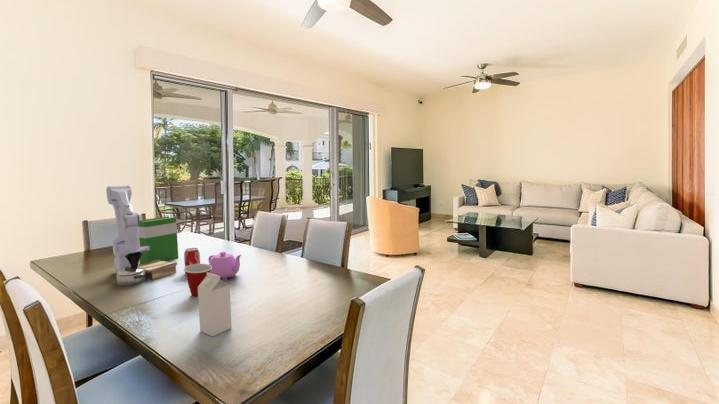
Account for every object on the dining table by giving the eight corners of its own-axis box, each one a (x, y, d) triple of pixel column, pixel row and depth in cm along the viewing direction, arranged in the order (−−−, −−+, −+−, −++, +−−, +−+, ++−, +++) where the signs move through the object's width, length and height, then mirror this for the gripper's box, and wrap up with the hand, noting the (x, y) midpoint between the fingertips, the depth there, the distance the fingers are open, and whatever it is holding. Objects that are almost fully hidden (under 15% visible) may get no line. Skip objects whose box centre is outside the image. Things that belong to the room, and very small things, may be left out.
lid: (111, 273, 160) (111, 269, 160) (135, 267, 169) (134, 263, 169) (126, 276, 155) (126, 272, 155) (149, 270, 165) (149, 266, 165)
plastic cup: (201, 300, 140) (199, 271, 139) (179, 298, 143) (177, 269, 142) (219, 291, 151) (217, 264, 149) (198, 288, 154) (196, 262, 152)
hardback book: (170, 256, 207) (168, 216, 205) (178, 258, 204) (175, 217, 201) (139, 263, 192) (136, 220, 189) (147, 265, 188) (144, 221, 186)
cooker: (109, 283, 161) (108, 273, 161) (133, 276, 171) (132, 267, 170) (129, 288, 155) (128, 278, 154) (153, 280, 165) (152, 271, 164)
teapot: (252, 275, 172) (251, 250, 171) (232, 284, 159) (231, 257, 158) (219, 271, 179) (218, 247, 178) (197, 279, 166) (196, 254, 164)
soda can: (194, 275, 173) (193, 251, 171) (182, 274, 174) (180, 250, 173) (203, 270, 180) (202, 247, 178) (191, 269, 181) (190, 247, 180)
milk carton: (219, 323, 121) (216, 269, 119) (231, 328, 117) (229, 273, 115) (199, 331, 115) (196, 275, 113) (212, 337, 111) (209, 279, 109)
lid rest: (135, 276, 171) (134, 266, 171) (160, 268, 183) (159, 259, 182) (153, 279, 166) (152, 269, 165) (177, 272, 177) (177, 262, 177)
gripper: (121, 244, 154) (123, 274, 156) (152, 237, 167) (154, 265, 169) (111, 242, 157) (114, 272, 159) (143, 236, 170) (145, 263, 172)
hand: (134, 268), depth 164 cm, fingers closed
